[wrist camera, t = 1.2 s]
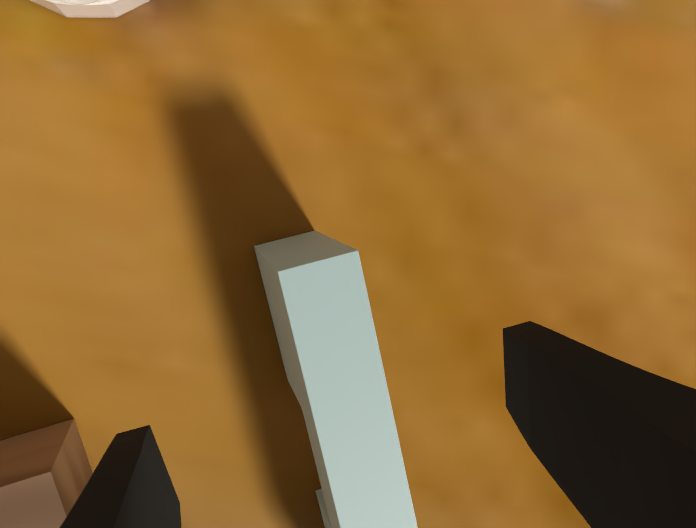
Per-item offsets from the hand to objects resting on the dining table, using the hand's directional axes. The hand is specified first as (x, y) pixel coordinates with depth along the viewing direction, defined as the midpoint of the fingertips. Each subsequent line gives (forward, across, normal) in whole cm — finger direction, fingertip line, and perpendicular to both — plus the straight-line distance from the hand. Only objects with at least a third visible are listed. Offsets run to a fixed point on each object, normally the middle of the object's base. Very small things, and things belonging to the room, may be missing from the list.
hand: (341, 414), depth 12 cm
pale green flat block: (+10, 0, +9) cm, 13 cm away
